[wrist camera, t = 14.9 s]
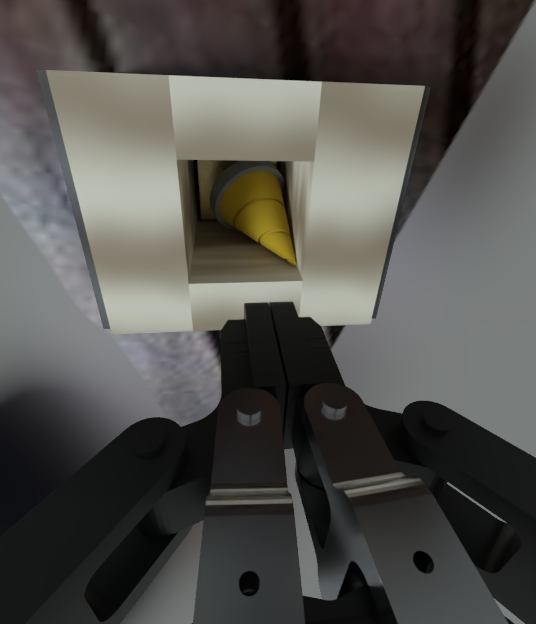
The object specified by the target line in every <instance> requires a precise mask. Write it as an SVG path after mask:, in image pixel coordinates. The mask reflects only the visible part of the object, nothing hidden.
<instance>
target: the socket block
mask: <svg viewBox="0 0 536 624" xmlns="http://www.w3.org/2000/svg"><path fill="white" fill-rule="evenodd" d="M36 72H37V75H38V79H39V83H40V87H41V91H42V95H43V98H44V102H45V106H46V110H47V114H48V117H49V121H50V125H51V129H52V133H53V137H54V140H55V144H56V148H57V152H58V156H59V159H60V163H61V167H62V171H63V175H64V179H65V182H66V186H67V190H68V194H69V198H70V201H71V205H72V209H73V213H74V217H75V221H76V224H77V228H78V232H79V236H80V240H81V244H82V247H83V251H84V255H85V259H86V263H87V266H88V270H89V274H90V278H91V282H92V286H93V289H94V293H95V297H96V301H97V305H98V308H99V312H100V316H101V320H102V324H103V328H104V329H111V333H112V334H130V333H155V332H180V331H205V330H221V329H222V328H223V326H224V325H225V323H226V322H227V320H239V319H244V303H262V302H268V304H269V302H291V301H293V303H294V305H295V308H296V311H297V314H298V317H311V318H312V319H313V320H314V321H316V322H317V323H318V324H319V325H320V326H329V325H353V324H370V323H371V319H372V318H376V315H377V311H378V307H379V303H380V299H381V295H382V290H383V286H384V282H385V278H386V273H387V269H388V265H389V261H390V257H391V253H392V248H393V244H394V240H395V236H396V232H397V227H398V223H399V219H400V215H401V210H402V206H403V202H404V198H405V194H406V189H407V185H408V181H409V177H410V173H411V168H412V164H413V160H414V156H415V152H416V147H417V143H418V139H419V135H420V131H421V126H422V122H423V118H424V114H425V110H426V105H427V101H428V97H429V93H430V89H431V86H414V85H390V84H366V83H342V82H318V81H294V80H270V79H246V78H222V77H198V76H174V75H150V74H126V73H102V72H78V71H54V70H36ZM193 160H238V161H279V172H280V173H281V175H282V176H283V179H284V183H285V191H284V195H283V201H284V206H285V211H286V216H287V221H288V225H289V230H290V235H291V240H292V245H293V249H294V254H295V259H296V266H294V265H292V264H291V263H289V262H288V261H287V259H283V258H281V257H280V256H278V255H277V254H275V253H274V252H272V251H271V250H269V249H267V248H266V247H264V246H263V245H261V243H258V242H256V241H255V240H253V239H252V238H250V237H249V236H247V235H246V234H244V233H242V232H241V231H239V230H232V229H229V228H226V227H224V226H223V225H221V223H220V222H219V221H218V220H217V219H215V220H198V217H197V204H196V190H195V176H194V163H193Z"/></svg>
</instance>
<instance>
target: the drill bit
mask: <svg viewBox="0 0 536 624" xmlns="http://www.w3.org/2000/svg"><path fill="white" fill-rule="evenodd" d="M284 191H285V183H284V179H283V176H282V175H281V173H280V172H279V171H278V169H277V168H276V167H275V166H274V165H273V163H272V162H270V161H238V162H236V163H234V164H232V165H231V166H229V167H228V168H227V169H225V170H224V171H223V172H222V173H221V174H220V176H219V177H218V178H217V180H216V181H215V183H214V185H213V187H212V190H211V193H210V206H211V209H212V211H213V213H214V215H215V216H216V218H217V220H218V221H219V222H220V223H221V225H223V226H224V227H226V228H229V229H232V230H239V231H241V232H242V233H244V234H246V235H247V236H249V237H250V238H252V239H253V240H255V241H256V242H258V243H261V245H263V246H264V247H266V248H267V249H269V250H271V251H272V252H274V253H275V254H277V255H278V256H280V257H281V258H283V259H287V261H288V262H289V263H291V264H292V265H294V266H296V259H295V254H294V249H293V245H292V240H291V235H290V230H289V225H288V221H287V216H286V211H285V206H284V201H283V195H284Z"/></svg>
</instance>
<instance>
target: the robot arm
mask: <svg viewBox="0 0 536 624" xmlns="http://www.w3.org/2000/svg"><path fill="white" fill-rule="evenodd" d="M221 384H222V394H221V399H220V402H219V404H218V406H217V407H216V409H215V410H214V411H213V412H212V413H211V414H209V415H208V416H207V417H205V418H203V419H201V420H199V421H197V422H194V423H191V424H188V425H185V426H183V427H180V426H179V425H178V424H177V423H176V422H174V421H172V420H170V419H167V418H160V417H156V418H155V417H154V418H148V419H144V420H141V421H139V422H136V423H135V424H133V425H131V426H130V427H128V428H127V429H126V430H125V431H123V432H122V433H121V434H120V435H119V436H118V437H116V438H115V439H114V440H113V441H112V442H111V443H109V444H108V445H107V446H106V447H105V448H104V449H102V450H101V451H100V452H99V453H98V454H97V455H95V456H94V457H93V458H92V459H91V460H90V461H88V462H87V463H86V464H85V465H84V466H83V467H81V468H80V469H79V470H78V471H77V472H76V473H74V474H73V475H72V476H71V477H70V478H69V479H67V480H66V481H65V482H64V483H63V484H62V485H60V486H59V487H58V488H57V489H56V490H55V491H53V492H52V493H51V494H50V495H49V496H48V497H46V498H45V499H44V500H43V501H42V502H41V503H40V504H38V505H37V506H36V507H35V508H34V509H33V510H31V511H30V512H29V513H28V514H27V515H25V516H24V517H23V518H22V519H21V520H20V521H18V522H17V523H16V524H15V525H14V526H13V527H11V528H10V529H9V530H8V531H7V532H6V533H4V534H3V535H2V536H1V537H0V624H120V623H121V622H122V620H123V619H124V618H125V616H126V615H127V614H128V612H129V611H130V610H131V608H132V607H133V606H134V605H135V603H136V602H137V601H138V599H139V597H140V596H141V595H142V594H143V593H144V591H145V590H146V589H147V587H148V586H149V585H150V583H151V582H152V581H153V579H154V578H155V577H156V575H157V574H158V572H159V571H160V570H161V569H162V567H163V566H164V565H165V563H166V562H167V561H168V559H169V558H170V557H171V555H172V554H173V553H174V552H175V550H176V549H177V548H178V546H179V545H180V544H181V542H182V541H183V540H184V538H185V537H186V536H187V534H188V533H189V531H190V530H191V528H192V526H193V525H194V524H196V523H198V522H200V521H202V520H204V522H203V531H202V541H201V550H200V560H199V570H198V580H197V589H196V599H195V609H194V618H193V623H192V624H514V623H513V622H511V621H510V620H509V619H507V618H506V617H505V616H504V615H503V614H502V612H501V610H500V608H499V607H498V605H497V603H496V602H495V600H494V598H495V599H496V600H497V601H498V602H500V603H501V604H502V605H503V606H504V607H506V608H507V609H508V610H509V611H510V612H512V613H513V614H514V615H515V616H517V617H518V618H519V619H520V620H521V621H523V622H524V623H525V624H536V458H535V457H533V456H531V455H530V454H528V453H526V452H525V451H523V450H521V449H519V448H517V447H516V446H514V445H512V444H510V443H509V442H507V441H505V440H503V439H502V438H500V437H498V436H497V435H494V434H493V433H491V432H490V431H488V430H486V429H484V428H482V427H481V426H479V425H477V424H476V423H474V422H472V421H470V420H469V419H467V418H465V417H463V416H462V415H460V414H458V413H456V412H454V411H453V410H451V409H449V408H447V407H445V406H443V405H441V404H438V403H435V402H431V401H416V402H413V403H410V404H409V405H408V406H406V408H405V409H404V411H403V414H401V413H396V412H391V411H386V410H381V409H377V408H373V407H370V406H367V405H365V404H364V403H363V401H362V399H361V398H360V397H359V395H358V394H356V393H355V392H354V391H353V390H351V389H350V388H348V387H346V386H345V384H344V381H343V379H342V377H341V374H340V372H339V369H338V367H337V364H336V362H335V360H334V357H333V355H332V352H331V350H330V347H329V345H328V342H327V340H326V337H325V335H324V332H323V330H322V328H321V326H320V325H319V324H318V323H317V322H316V321H314V320H313V319H312V318H311V317H298V314H297V311H296V308H295V305H294V303H293V301H291V302H269V304H268V302H262V303H244V319H239V320H227V322H226V323H225V325H224V326H223V328H222V329H221ZM291 448H294V453H295V457H296V465H295V479H296V483H297V486H298V490H299V494H300V498H301V501H302V505H303V508H304V512H305V516H306V520H307V523H308V526H309V530H310V534H311V538H312V542H313V545H314V549H315V553H316V558H317V565H318V578H319V585H320V592H321V597H322V599H317V598H312V597H307V596H302V587H301V577H300V567H299V557H298V547H297V537H296V528H295V517H294V508H293V501H292V496H291V494H290V493H289V492H288V487H287V478H286V466H285V455H284V449H291ZM447 482H449V483H450V484H452V485H453V486H455V487H456V488H458V489H459V490H461V491H462V492H463V493H465V494H466V495H468V496H469V497H471V498H472V499H474V500H475V501H477V502H478V503H479V504H481V505H482V506H484V507H485V508H487V509H488V510H489V511H491V512H492V513H494V514H495V515H497V516H498V517H500V518H501V519H503V520H504V521H505V522H507V523H505V522H502V521H500V520H498V519H497V518H495V517H494V516H492V515H491V514H489V513H488V512H486V511H485V510H483V509H482V508H481V507H479V506H478V505H476V504H475V503H473V502H472V501H471V500H469V499H468V498H466V497H465V496H463V495H462V494H461V493H459V492H458V491H456V490H455V489H453V488H452V487H451V486H449V485H448V484H447Z"/></svg>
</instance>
